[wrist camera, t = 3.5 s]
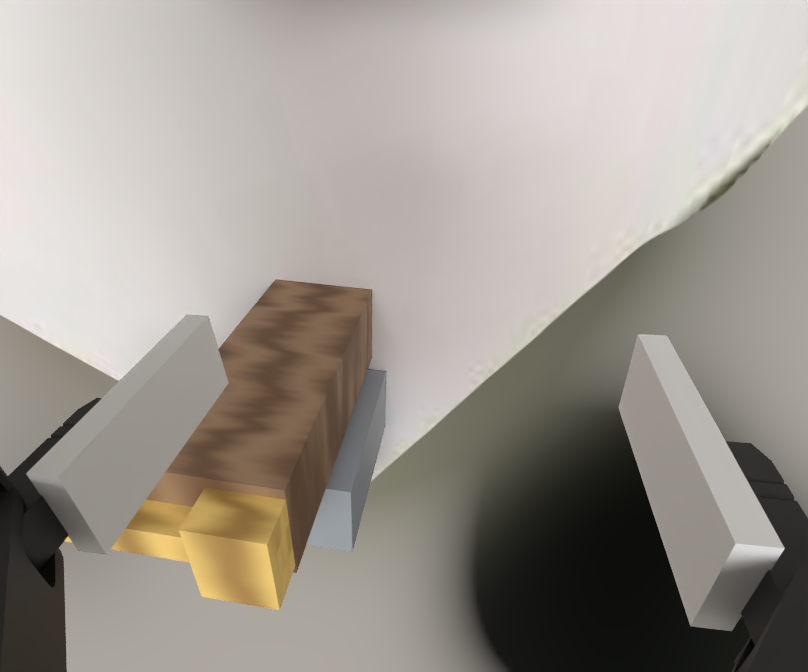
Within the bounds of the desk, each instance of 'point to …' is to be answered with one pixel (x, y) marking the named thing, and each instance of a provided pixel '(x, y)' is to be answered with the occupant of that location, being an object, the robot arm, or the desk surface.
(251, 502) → the handle bar
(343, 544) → the grey stand
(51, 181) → the desk surface
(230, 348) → the walnut post
